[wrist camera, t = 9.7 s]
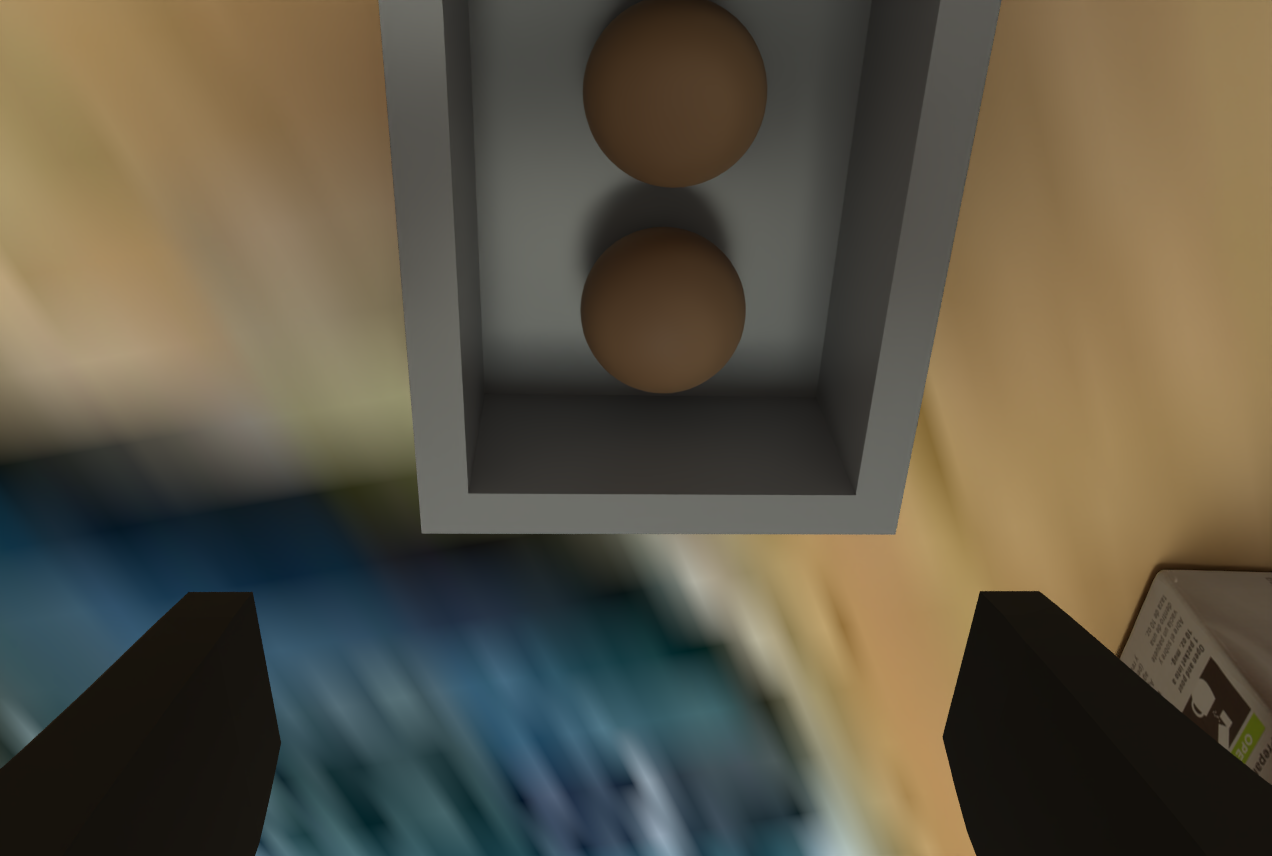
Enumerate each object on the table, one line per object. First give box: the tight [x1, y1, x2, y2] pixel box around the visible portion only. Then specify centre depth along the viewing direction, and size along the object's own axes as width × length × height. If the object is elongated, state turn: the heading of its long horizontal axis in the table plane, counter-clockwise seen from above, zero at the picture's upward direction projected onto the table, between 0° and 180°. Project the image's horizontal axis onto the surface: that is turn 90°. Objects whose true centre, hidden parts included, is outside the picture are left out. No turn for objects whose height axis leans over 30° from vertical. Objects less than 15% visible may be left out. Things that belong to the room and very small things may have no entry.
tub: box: [379, 0, 1001, 534], centre depth 17 cm, size 8×10×4 cm
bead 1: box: [583, 0, 767, 188], centre depth 16 cm, size 3×3×3 cm
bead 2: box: [580, 227, 746, 393], centre depth 18 cm, size 3×3×3 cm
